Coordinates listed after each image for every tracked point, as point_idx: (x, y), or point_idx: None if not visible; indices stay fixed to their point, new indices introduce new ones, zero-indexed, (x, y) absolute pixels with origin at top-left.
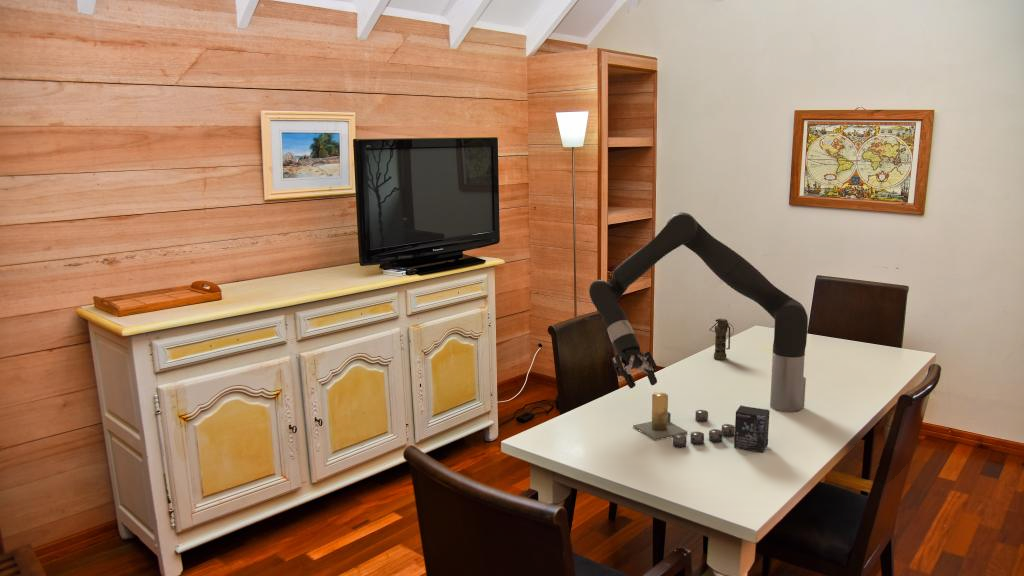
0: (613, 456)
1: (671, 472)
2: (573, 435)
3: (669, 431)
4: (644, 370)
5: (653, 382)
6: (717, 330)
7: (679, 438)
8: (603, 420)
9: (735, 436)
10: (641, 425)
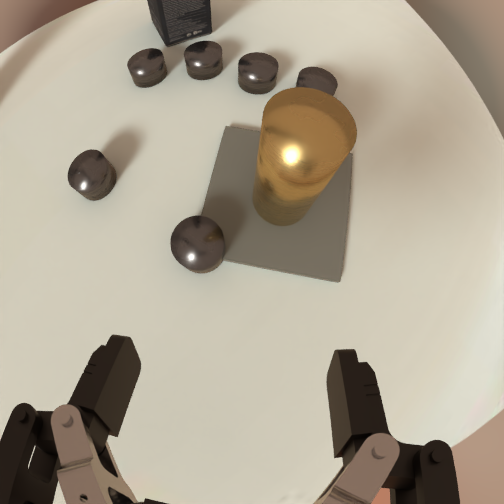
0: (473, 171)
1: (405, 58)
2: (487, 332)
3: None
4: (114, 468)
5: (130, 354)
6: None
7: (326, 75)
8: None
9: (210, 10)
10: (317, 259)
